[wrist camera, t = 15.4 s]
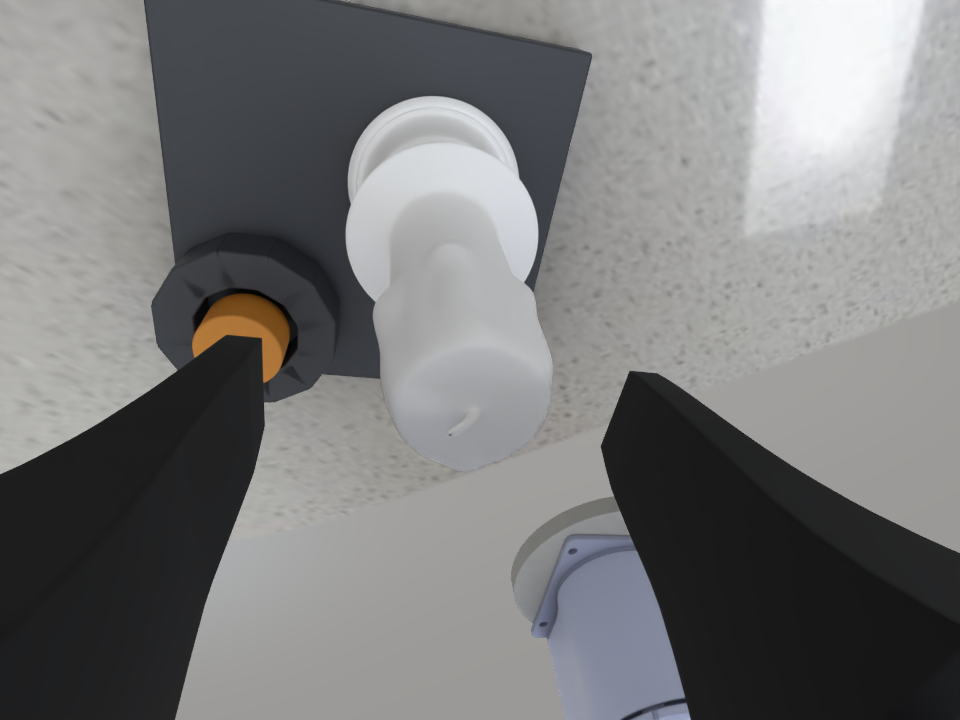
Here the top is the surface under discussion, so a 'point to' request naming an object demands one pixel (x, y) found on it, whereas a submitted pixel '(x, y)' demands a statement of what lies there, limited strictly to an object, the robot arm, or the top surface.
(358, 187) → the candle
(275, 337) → the power button
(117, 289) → the top surface
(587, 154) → the top surface
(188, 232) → the scale
